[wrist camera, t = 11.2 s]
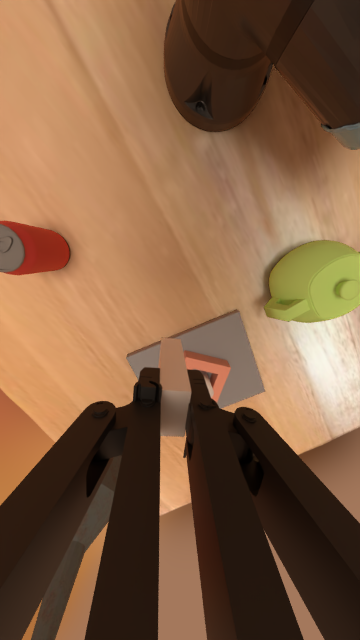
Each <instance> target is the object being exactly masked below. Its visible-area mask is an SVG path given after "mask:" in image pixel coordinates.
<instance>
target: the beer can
mask: <svg viewBox="0 0 360 640" xmlns="http://www.w3.org/2000/svg"><path fill="white" fill-rule="evenodd" d="M68 259H69V248H68V245H67V243H66V241H65V240H64V239H63V237H61V236H60V235H59V234H58V233H56V232H54V231H51V230H47V229H42V228H38V227H34V226H29V225H25V224H20V223H16V222H10V221H0V272H4V273H6V274H12V275H24V274H32V273H39V272H47V271H54V270H59V269H61V268H62V267H64V266H65V265H66V263H67V262H68Z"/></svg>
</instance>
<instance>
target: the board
mask: <svg viewBox="0 0 360 640" xmlns="http://www.w3.org/2000/svg"><path fill="white" fill-rule="evenodd" d="M169 338H172V339H181V344H182V348H183V353H184V350H186V351H190V352H195V353H199V354H203V355H207V356H211V357H215V358H219V359H224V360H227V362H228V363H229V365H230V367H231V369H230V372H229V374H228V377H227V379H226V382H225V384H224V387H223V389H222V391H221V394H220V396H219V399H218V401H217V404H218V406H219V408H220V409H221V408H224V407H226V406H229V405H231V404H234V403H236V402H239V401H242V400H244V399H247V398H249V397H252V396H254V395H257V394H260V393H262V392H265V389H264V386H263V383H262V380H261V377H260V374H259V371H258V368H257V365H256V361H255V358H254V355H253V352H252V349H251V346H250V343H249V340H248V337H247V334H246V331H245V328H244V325H243V322H242V318H241V315H240V312H239V311H238V310H234V311H232V312H230V313H227V314H225V315H222V316H220V317H217V318H215V319H213V320H210V321H208V322H205V323H203V324H200V325H198V326H195V327H193V328H191V329H188V330H186V331H183V332H181V333H178V334H176V335H173V336H171V337H169ZM160 347H161V341H159V342H156V343H154V344H152V345H149V346H147V347H144V348H142V349H139V350H137V351H134V352H132V353H130V354H127V357H126V359H127V360H128V362H129V364H130V366H131V368H132V369H133V371H134V373H135V375H136V377H137V378H138V380H139V375H140V371H141V370H142V369H143V368H144V367H151V368H158V367H159V357H160ZM193 370H197V369H193ZM199 371H200V372H201V373H202V374H203V376H204V379H205V382H206V385H207V387H208V390H209V393H210V396H211V398H212V397H213V395H214V391H213V388H212V386H211V383H210V377H211V374H212V373H210V372H206V371H202V370H199Z"/></svg>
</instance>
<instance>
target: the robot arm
mask: <svg viewBox="0 0 360 640" xmlns="http://www.w3.org/2000/svg"><path fill="white" fill-rule="evenodd" d="M273 64H274V66H275V67H276V69H277V70H278V71H279V72H280V73H281V75H282V76H283V77H284V78H285V80H286V81H287V82H288V83H289V84H290V86H291V87H292V88H293V89H294V91H295V92H296V93H297V94H298V95H299V97H300V98H301V99H302V100H303V101H304V103H305V104H306V105H307V106H308V108H309V109H310V110H311V111H312V112H313V114H314V115H315V116H316V117H317V119H318V120H319V121H320V122H321V127H322V128H323V129H324V130H325V131H327V132H330V133H331V134H332V135H333V136H334V137H335V138H336V139H337V140H338V141H339V142H340V143H341V144H342V145H343V146H344V147H346V148H348V149H351V150H356V149H360V0H176V2H175V4H174V6H173V8H172V11H171V14H170V17H169V20H168V23H167V27H166V33H165V40H164V73H165V80H166V84H167V88H168V91H169V94H170V96H171V99H172V101H173V103H174V105H175V106H176V108H177V109H178V111H179V112H180V113H181V115H182V116H183V117H184V118H185V119H186V120H187V121H189V122H190V123H191V124H193V125H194V126H196V127H198V128H200V129H203V130H206V131H214V132H216V131H224V130H228V129H230V128H233V127H235V126H236V125H238V124H239V123H241V122H242V121H243V120H244V119H245V118H246V117H247V116H248V115H249V114H250V113H251V111H252V110H253V109H254V107H255V106H256V104H257V102H258V101H259V99H260V97H261V96H262V94H263V92H264V90H265V87H266V85H267V83H268V80H269V77H270V73H271V69H272V65H273ZM185 430H186V436H187V437H186V443H185V449H184V456H183V458H186V456H187V465H188V474H189V483H190V492H191V501H192V509H193V518H194V527H195V535H196V545H197V553H198V562H199V571H200V580H201V588H202V598H203V606H204V615H205V624H206V633H207V640H304V639H303V636H302V634H301V631H300V628H299V625H298V623H297V620H296V617H295V615H294V612H293V609H292V606H291V604H290V601H289V598H288V595H287V593H286V590H285V587H284V584H283V582H282V579H281V576H280V573H279V571H278V568H277V565H276V562H275V560H274V557H273V554H272V551H271V549H270V546H269V543H268V540H267V538H266V535H265V532H266V534H267V536H268V538H269V540H270V541H271V543H272V545H273V547H274V549H275V550H276V552H277V554H278V556H279V558H280V560H281V561H282V563H283V565H284V567H285V568H286V570H287V572H288V574H289V576H290V578H291V580H292V581H293V583H294V585H295V587H296V589H297V590H298V592H299V594H300V596H301V598H302V600H303V601H304V603H305V605H306V607H307V609H308V610H309V612H310V614H311V616H312V618H313V620H314V621H315V623H316V625H317V627H318V629H319V630H320V632H321V634H322V636H323V638H324V639H325V640H360V523H359V522H358V521H357V520H356V519H355V518H354V517H353V516H352V515H351V514H350V512H349V511H348V510H347V509H346V508H345V507H344V506H343V505H342V504H341V503H340V501H339V500H338V499H337V498H336V497H335V496H334V495H333V494H332V493H331V492H330V491H329V489H328V488H327V487H326V486H325V485H324V484H323V483H322V482H321V481H320V479H319V478H318V477H317V476H316V475H315V474H314V473H313V472H312V471H311V470H310V468H309V467H308V466H307V465H306V464H305V463H304V462H303V461H302V460H301V459H300V458H299V456H298V455H297V454H296V453H295V452H294V451H293V450H292V449H291V448H290V447H289V445H288V444H287V443H286V442H285V441H284V440H283V439H282V438H281V437H280V436H279V434H278V433H277V432H276V431H275V430H274V429H273V428H272V427H271V426H270V425H269V424H268V422H267V421H266V420H265V419H264V418H263V417H262V416H261V415H260V414H259V413H258V412H257V411H255V410H253V409H251V408H247V407H240V408H237V409H236V411H235V413H232V412H228V411H225V410H222V409H220V408H219V406H218V404H217V402H216V401H214V400H213V399H212V398H211V396H210V393H209V390H208V387H207V385H206V382H205V379H204V376H203V374H202V373H201V372H200V371H199V370H190V369H187V368H186V363H185V358H184V353H183V348H182V344H181V339H172V338H161V347H160V357H159V367H158V368H151V367H144V368H143V369H142V370H141V371H140V375H139V380H138V382H137V383H136V384H135V385H134V393H133V401H132V402H131V403H130V404H128V405H126V406H123V407H118V408H115V406H114V405H113V404H112V403H110V402H108V401H99V402H95V403H93V404H90V405H89V406H88V407H87V408H86V409H85V410H84V411H83V412H82V413H81V414H80V416H79V417H78V418H77V419H76V420H75V421H74V422H73V424H72V425H71V426H70V427H69V428H68V429H67V430H66V432H65V433H64V434H63V435H62V436H61V437H60V438H59V440H58V441H57V442H56V443H55V444H54V445H53V447H52V448H51V449H50V450H49V451H48V452H47V453H46V454H45V455H44V457H43V458H42V459H41V460H40V461H39V463H38V464H37V465H36V466H35V467H34V468H33V469H32V470H31V472H30V473H29V474H28V475H27V476H26V477H25V478H24V479H23V481H22V482H21V483H20V484H19V485H18V487H16V489H15V490H14V491H13V492H12V493H11V494H10V495H9V497H8V498H7V499H6V500H5V501H4V502H3V503H2V505H1V506H0V640H22V638H23V636H24V634H25V632H26V630H27V628H28V626H29V624H30V622H31V620H32V618H33V616H34V614H35V612H36V610H37V608H38V606H39V604H40V602H41V600H42V598H43V597H44V595H45V593H46V591H47V589H48V587H49V585H50V583H51V581H52V579H53V577H54V575H55V573H56V571H57V569H58V567H59V565H60V563H61V561H62V559H63V557H64V555H65V553H66V551H67V550H68V548H69V546H70V544H71V542H72V540H73V538H74V536H75V534H76V532H77V530H78V528H79V526H80V524H81V522H82V520H83V518H84V516H85V514H86V512H87V510H88V508H89V506H90V504H91V503H92V501H93V499H94V497H95V495H96V493H97V491H98V489H99V487H100V485H101V483H102V481H103V479H104V477H105V475H106V473H107V471H108V469H109V467H110V465H111V463H112V461H113V458H114V457H117V456H120V455H122V458H121V463H120V468H119V473H118V478H117V482H116V487H115V492H114V497H113V502H112V507H111V512H110V517H109V523H108V527H107V532H106V537H105V542H104V546H103V551H102V556H101V562H100V566H99V571H98V576H97V581H96V586H95V591H94V596H93V601H92V605H91V611H90V615H89V621H88V625H87V630H86V635H85V640H158V584H159V583H158V582H159V579H158V578H159V504H160V436H180V437H184V436H185ZM264 531H265V532H264Z"/></svg>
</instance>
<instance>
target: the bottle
mask: <svg viewBox="0 0 360 640" xmlns="http://www.w3.org/2000/svg"><path fill="white" fill-rule="evenodd" d="M121 458H122V455H120V456H117V457H114V458H113V461H112V463H111V465H110V467H109V469H108V471H107V473H106V475H105V477H104V479H103V481H102V483H101V485H100V487H99V489H98V491H97V493H96V495H95V497H94V499H93V501H92V503H91V504H90V506H89V508H88V510H87V512H86V514H85V516H84V518H83V520H82V522H81V524H80V526H79V528H78V530H77V532H76V534H75V536H74V538H73V540H72V542H71V544H70V546H69V548H68V550H67V551H66V553H65V555H64V557H63V559H62V561H61V563H60V565H59V567H58V569H57V571H56V573H55V575H54V577H53V579H52V581H51V583H50V585H49V587H48V589H47V591H46V593H45V595H44V597H43V599H42V603H41V607H40V610H39V613H38V617H37V621H36V624H35V628H34V631H33V635H32V638H31V640H55V638H56V635H57V632H58V629H59V626H60V623H61V620H62V617H63V614H64V611H65V609H66V606H67V602H68V600H69V597H70V593H71V591H72V588H73V585H74V582H75V579H76V576H77V573H78V570H79V567H80V565H81V562H82V559H83V556H84V553H85V551H86V550H87V549H88V548H89V546H90V545H91V543H92V542H93V541H94V539H95V538H96V537H97V536H98V534H99V533H100V532H101V531H102V529H103V528H104V527H105V525H106V524H107V523H108V521H109V517H110V512H111V507H112V502H113V497H114V492H115V487H116V482H117V478H118V473H119V468H120V463H121Z"/></svg>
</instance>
